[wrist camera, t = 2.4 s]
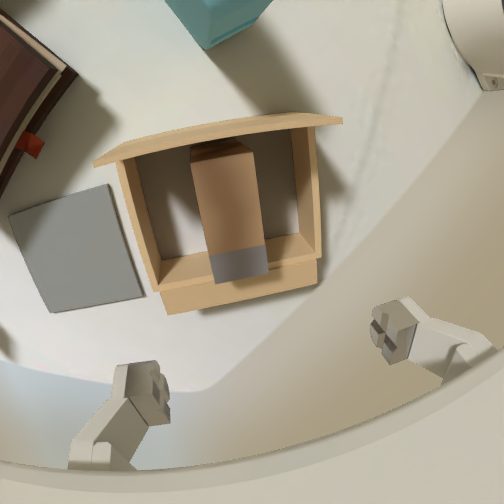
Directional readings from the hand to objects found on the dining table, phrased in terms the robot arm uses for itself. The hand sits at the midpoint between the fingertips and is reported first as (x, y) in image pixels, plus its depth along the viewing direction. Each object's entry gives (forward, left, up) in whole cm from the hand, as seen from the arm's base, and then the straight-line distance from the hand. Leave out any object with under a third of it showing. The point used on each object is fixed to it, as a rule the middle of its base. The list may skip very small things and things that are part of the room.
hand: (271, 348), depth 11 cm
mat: (+16, +3, -20) cm, 25 cm away
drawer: (0, +1, -20) cm, 20 cm away
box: (0, 0, -20) cm, 20 cm away
